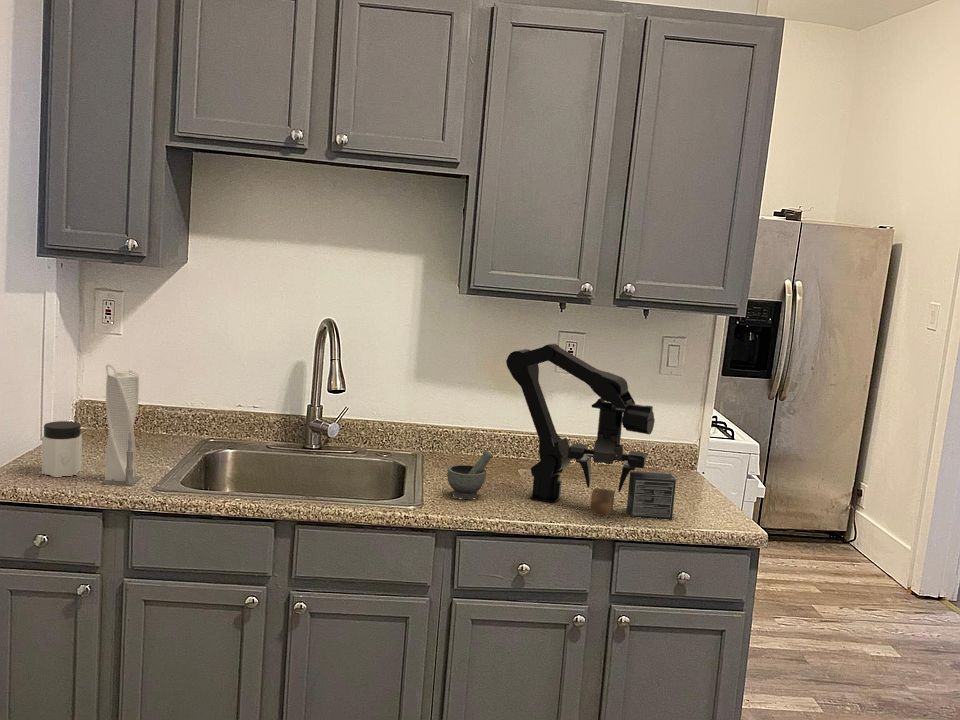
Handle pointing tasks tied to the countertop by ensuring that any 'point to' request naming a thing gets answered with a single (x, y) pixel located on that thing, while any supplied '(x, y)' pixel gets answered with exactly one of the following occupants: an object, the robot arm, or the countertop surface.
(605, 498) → the block
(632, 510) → the small box
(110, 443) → the skyscraper
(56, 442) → the jar
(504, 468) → the countertop surface
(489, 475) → the countertop surface
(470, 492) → the mortar and pestle
